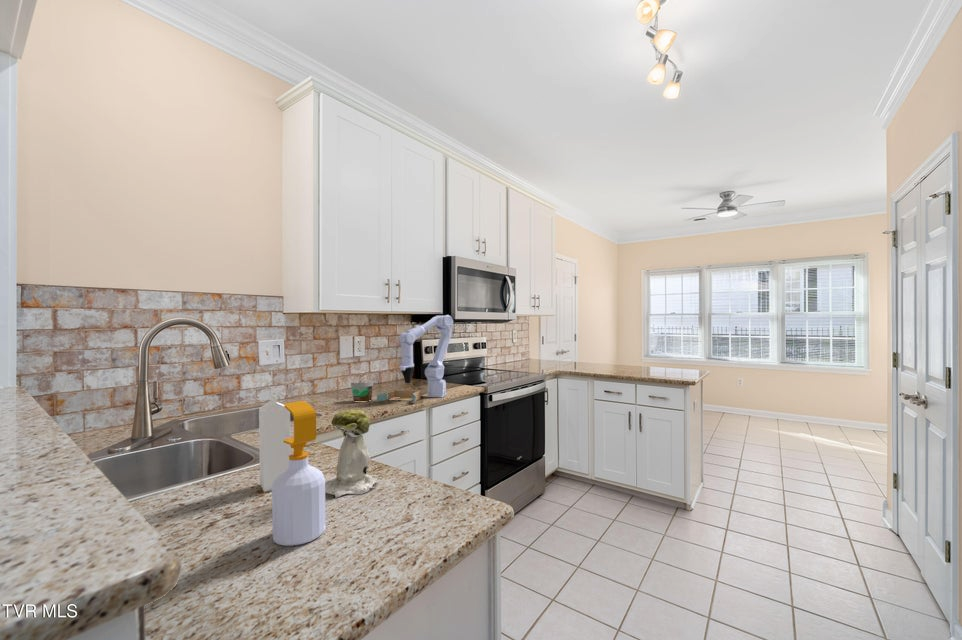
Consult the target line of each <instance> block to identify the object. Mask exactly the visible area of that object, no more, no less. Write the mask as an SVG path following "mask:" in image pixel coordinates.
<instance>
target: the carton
mask: <svg viewBox="0 0 962 640" xmlns="http://www.w3.org/2000/svg"><path fill="white" fill-rule="evenodd" d="M413 393H414V394H415V395H416V401H419V400H420V399H421V390H412V389H411V390H408V389H407V390H405V389H401V390H400V389H398V390H397V389H395V390H391V391H389V392H387V401H388V400H389V399H391V398H393V397H400V398H398V399H395V400H401V401H400V402H414V401H413Z"/></svg>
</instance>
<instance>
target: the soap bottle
mask: <svg viewBox="0 0 962 640" xmlns="http://www.w3.org/2000/svg"><path fill="white" fill-rule="evenodd" d="M283 405H284V407H285V408H286V409H287V410H288V411H289V412H290V415H291V416H292V417H293V437H290V438H287V439H284V440H283V442H284V443H287V444H290V445H291V449H293V453H291V455H289V468H288V469H287V470H285V471H284V472H282V473H281V474H280V475H279V476H278V477H277V478H276V479H275V480H274V482H273V485H272V490H271V501H272V503H271V504H272V505H271V506H272V507H271V508H272V510H271V511H272V513H271V514H272V515H271V516H272V517H271V519H272V522H271V523H272V539H273V542H274V543H276V544H277V545H279V546H284V547H292V546H294V545H295V546H300V545H303V544H307V543H309V542H312V541H314V540H316V539H318V538H320V536H322V535H323V534H324V532H325V531H326V528H327V527H326V526H327V525H326V523H327V522H326V519H327V516H326V512H327V511H326V492H325V480H326V478H325V475H324V473H323V472H322V471H321V470H320V469H318V468H317V467H315V466H312V465H310V464H309V452H306V451H304V448H305V447H306V446H307V443H309V442H312V441H315V440H316V439H317V413H316V410H315V408H314V407H313V406H312V405H311V404H310V403H308V402H307V401H306V400H305V401H304V400H299V401H293V402H286V403H284V404H283Z"/></svg>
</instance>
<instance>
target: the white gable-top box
mask: <svg viewBox="0 0 962 640" xmlns="http://www.w3.org/2000/svg"><path fill="white" fill-rule="evenodd" d="M284 405H285V404H283V403H280V402H278V398H277V396H276V395H275V394H271V400H269V401H268V402H266V403H264V404H263V405H262V406H260V407H259V408H258V429H259V430H258V432H259V436H258V442H259V443H258V444H259V447H258V448H259V449H258V451H259V485H260V487H261V489H262V491H263V492H264V493H266V492H270V491H271V492H272V485H273V482H274V480H275V479H276V478H277V477H278V476H279V475H280V474H281V473H282V472H284V471H285V470H287V469H288V468H289V455H291V454H292V453H291V452H292V451H291V449H292V448H291V445H290V444H287V443H284V442H283V440H284V439H287V438H291V413H290V412H289V411H288V410H287V409H286V408H285V407H284Z"/></svg>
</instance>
